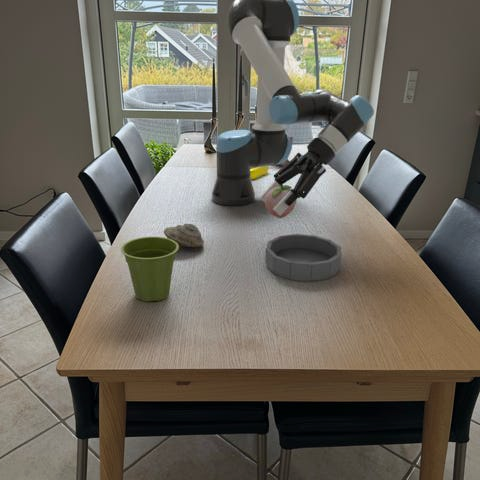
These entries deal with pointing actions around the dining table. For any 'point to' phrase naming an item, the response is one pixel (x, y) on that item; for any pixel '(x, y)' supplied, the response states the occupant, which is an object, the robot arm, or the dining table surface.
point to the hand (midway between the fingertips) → (269, 206)
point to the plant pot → (150, 266)
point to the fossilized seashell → (185, 235)
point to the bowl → (303, 257)
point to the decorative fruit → (278, 200)
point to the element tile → (258, 172)
